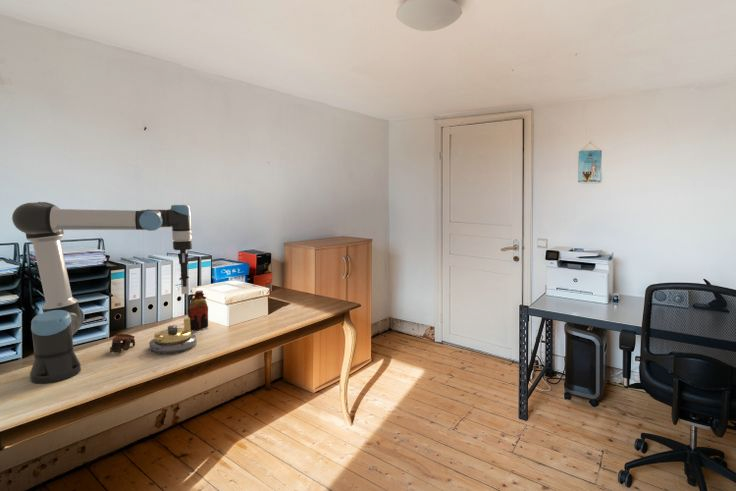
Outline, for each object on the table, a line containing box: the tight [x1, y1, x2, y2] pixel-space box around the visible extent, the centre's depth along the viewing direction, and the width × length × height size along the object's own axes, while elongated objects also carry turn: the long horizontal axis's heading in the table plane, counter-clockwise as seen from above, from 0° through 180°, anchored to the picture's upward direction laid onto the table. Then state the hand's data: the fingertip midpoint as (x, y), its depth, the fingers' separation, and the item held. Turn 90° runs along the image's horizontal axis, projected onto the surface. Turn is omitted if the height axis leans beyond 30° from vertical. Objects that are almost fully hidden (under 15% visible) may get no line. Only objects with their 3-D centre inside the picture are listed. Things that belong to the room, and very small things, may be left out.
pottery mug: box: [109, 333, 136, 354], centre depth 178 cm, size 12×10×8 cm
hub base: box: [149, 324, 197, 355], centre depth 182 cm, size 19×19×9 cm
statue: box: [187, 290, 209, 332], centre depth 206 cm, size 12×8×20 cm, turn 124°
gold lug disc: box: [153, 317, 192, 345], centre depth 182 cm, size 15×15×9 cm
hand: (185, 293), depth 179 cm, fingers closed
